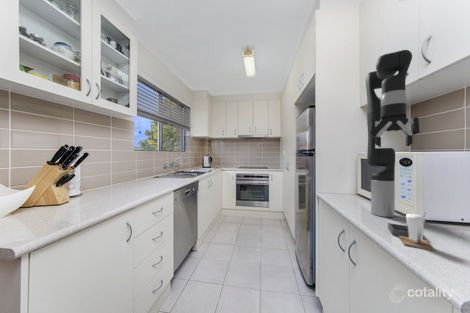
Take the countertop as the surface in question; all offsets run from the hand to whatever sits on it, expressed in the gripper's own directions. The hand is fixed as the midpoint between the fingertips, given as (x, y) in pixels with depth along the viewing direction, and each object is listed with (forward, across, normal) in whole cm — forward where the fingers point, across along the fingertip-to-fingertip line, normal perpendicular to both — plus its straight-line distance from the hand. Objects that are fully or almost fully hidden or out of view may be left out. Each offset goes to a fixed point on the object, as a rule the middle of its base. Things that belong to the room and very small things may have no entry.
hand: (393, 146), depth 71 cm
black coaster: (+33, -3, +1) cm, 33 cm away
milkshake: (+32, -4, +10) cm, 34 cm away
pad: (+33, -4, +10) cm, 34 cm away
